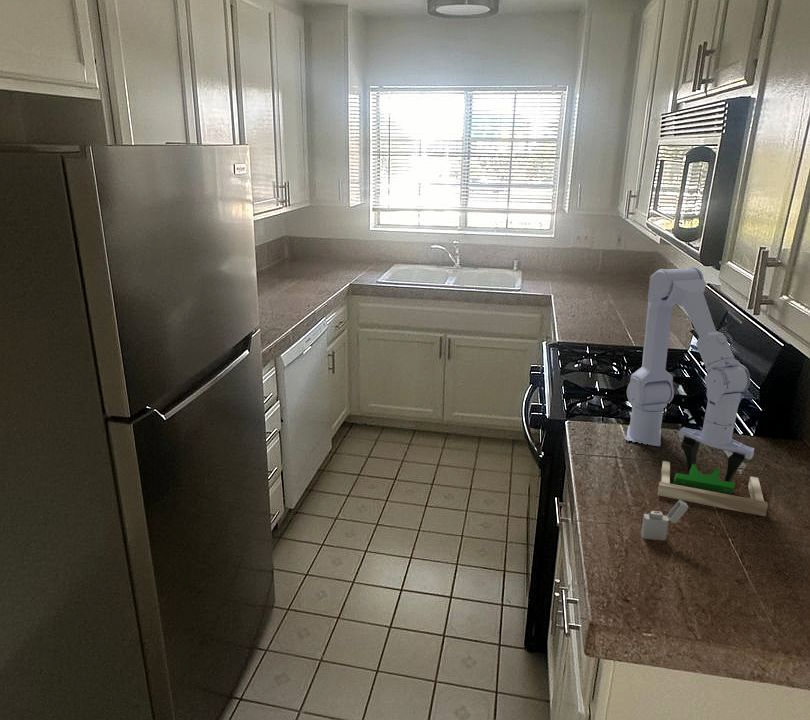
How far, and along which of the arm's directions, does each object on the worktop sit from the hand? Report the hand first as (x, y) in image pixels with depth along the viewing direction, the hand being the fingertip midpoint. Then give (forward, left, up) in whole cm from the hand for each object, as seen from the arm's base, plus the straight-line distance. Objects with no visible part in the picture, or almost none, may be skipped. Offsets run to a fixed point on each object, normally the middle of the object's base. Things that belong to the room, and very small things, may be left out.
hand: (708, 476), depth 132 cm
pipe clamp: (+2, -1, -1) cm, 2 cm away
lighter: (+25, -9, -2) cm, 27 cm away
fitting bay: (+3, 0, -2) cm, 4 cm away
